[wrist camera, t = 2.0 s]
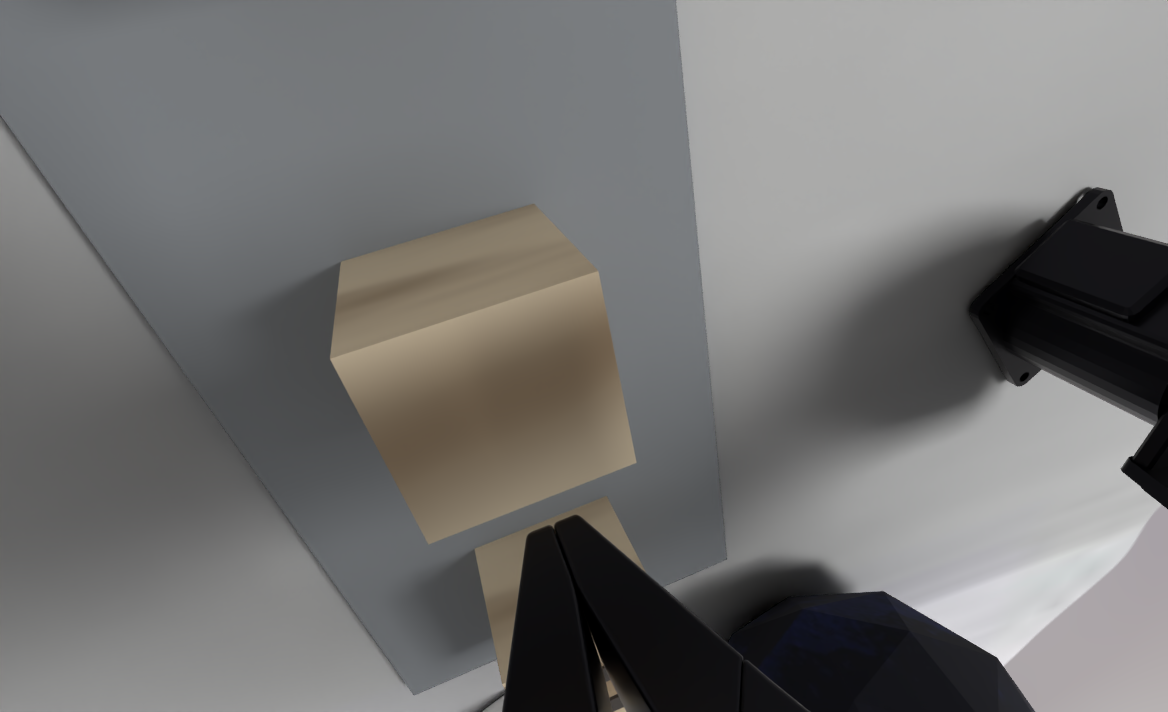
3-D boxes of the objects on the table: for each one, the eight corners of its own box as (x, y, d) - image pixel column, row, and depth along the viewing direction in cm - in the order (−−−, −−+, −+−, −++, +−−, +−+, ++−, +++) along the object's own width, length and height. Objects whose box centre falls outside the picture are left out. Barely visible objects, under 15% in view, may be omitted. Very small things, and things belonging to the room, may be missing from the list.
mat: (719, 549, 26) (726, 559, 25) (413, 681, 23) (413, 695, 23) (601, -626, 9) (615, -664, 9) (-462, -576, 7) (-525, -622, 6)
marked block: (627, 579, 23) (684, 699, 19) (509, 629, 23) (541, 766, 18) (606, 495, 21) (667, 614, 17) (471, 549, 20) (499, 689, 16)
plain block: (573, 360, 18) (636, 462, 13) (413, 416, 17) (428, 544, 13) (533, 203, 15) (598, 270, 11) (340, 261, 14) (330, 358, 10)
